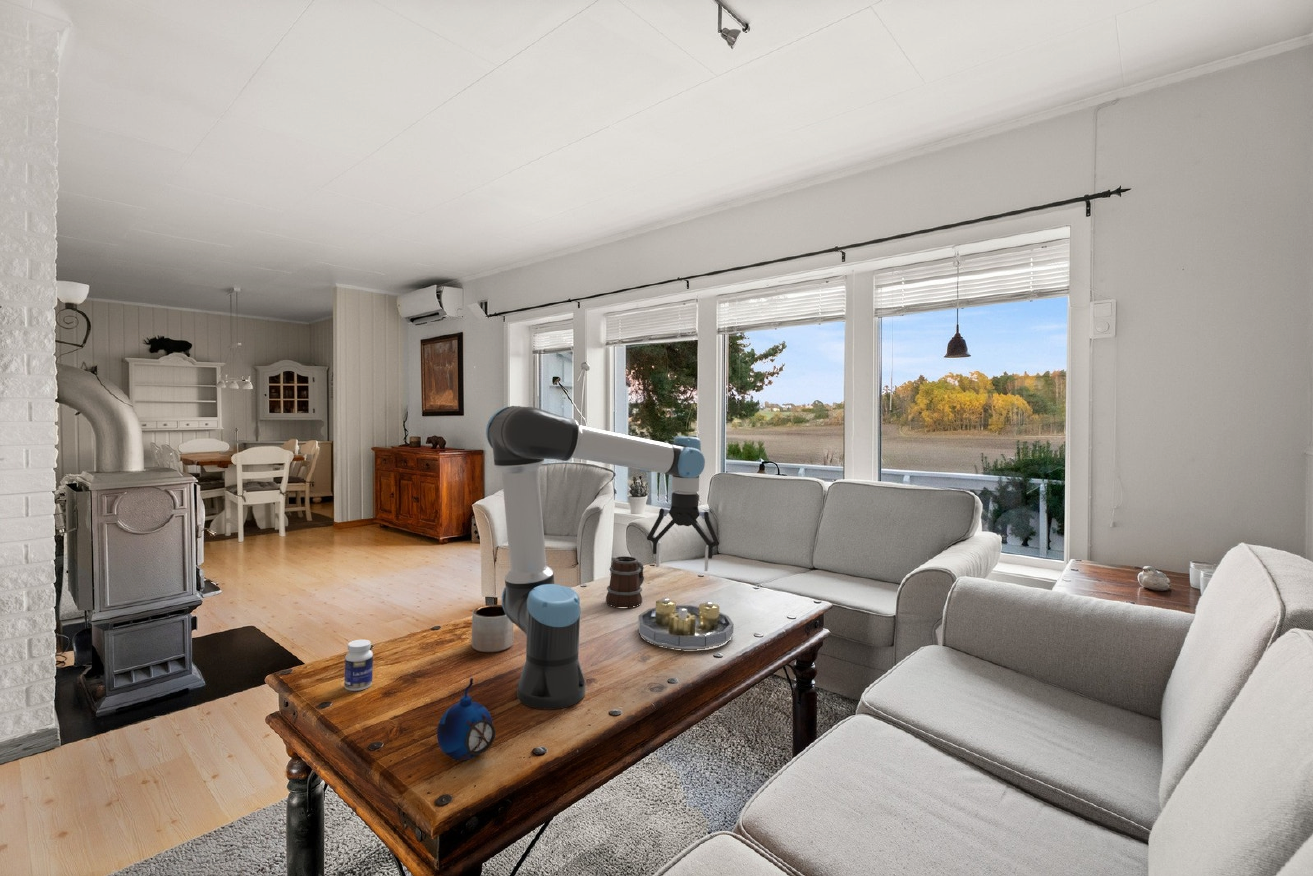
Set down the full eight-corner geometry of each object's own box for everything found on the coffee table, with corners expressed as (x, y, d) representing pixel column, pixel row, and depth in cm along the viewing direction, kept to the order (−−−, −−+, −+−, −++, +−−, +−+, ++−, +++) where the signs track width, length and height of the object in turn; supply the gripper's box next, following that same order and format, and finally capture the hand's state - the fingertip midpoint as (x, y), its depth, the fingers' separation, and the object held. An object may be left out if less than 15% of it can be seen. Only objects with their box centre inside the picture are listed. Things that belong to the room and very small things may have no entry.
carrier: (676, 658, 162) (677, 623, 161) (621, 627, 184) (622, 595, 183) (751, 639, 177) (752, 607, 177) (692, 612, 199) (693, 583, 199)
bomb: (457, 781, 106) (459, 695, 105) (426, 755, 113) (427, 675, 113) (506, 758, 113) (508, 678, 113) (473, 736, 121) (475, 660, 120)
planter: (521, 646, 166) (522, 611, 166) (485, 657, 158) (486, 620, 158) (498, 635, 174) (499, 601, 173) (463, 645, 166) (464, 610, 165)
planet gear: (679, 644, 168) (680, 622, 168) (663, 635, 174) (664, 614, 174) (699, 639, 172) (700, 618, 172) (683, 631, 178) (684, 610, 178)
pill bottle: (353, 694, 136) (354, 649, 135) (339, 687, 139) (339, 643, 138) (377, 685, 141) (378, 642, 140) (362, 678, 144) (363, 636, 143)
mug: (627, 611, 199) (629, 565, 198) (598, 603, 206) (600, 558, 205) (655, 600, 212) (657, 556, 211) (628, 593, 219) (629, 551, 218)
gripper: (731, 493, 173) (727, 568, 174) (643, 487, 178) (641, 561, 178) (729, 496, 166) (725, 575, 167) (638, 491, 170) (635, 567, 171)
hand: (682, 568), depth 173 cm, fingers open, 13 cm apart
